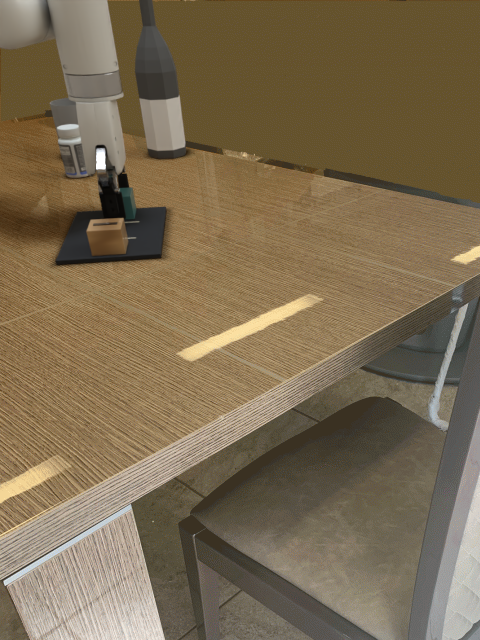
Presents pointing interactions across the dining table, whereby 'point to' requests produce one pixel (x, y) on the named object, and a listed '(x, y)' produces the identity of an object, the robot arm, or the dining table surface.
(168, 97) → the wine bottle
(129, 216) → the teal block
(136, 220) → the mat
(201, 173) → the dining table surface
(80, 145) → the pill bottle
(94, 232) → the maple block
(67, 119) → the cup
